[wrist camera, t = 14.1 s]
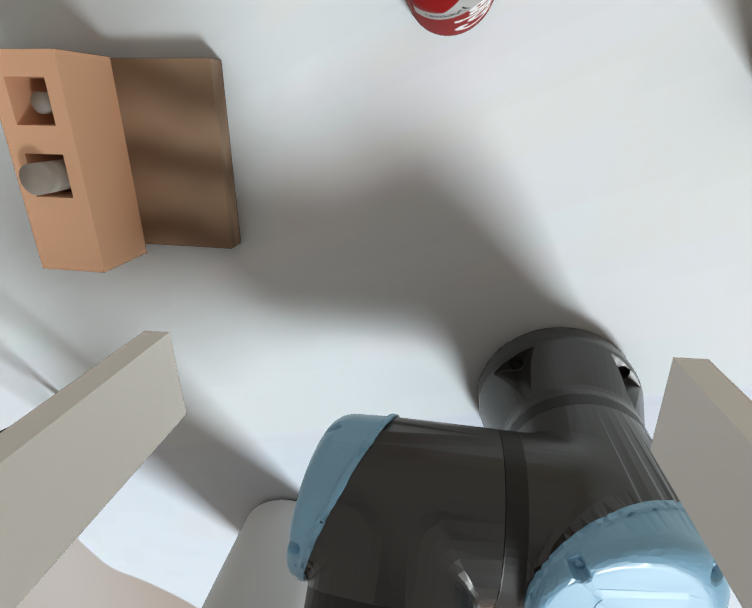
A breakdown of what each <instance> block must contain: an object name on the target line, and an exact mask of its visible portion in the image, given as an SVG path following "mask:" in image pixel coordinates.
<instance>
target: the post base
mask: <svg viewBox="0 0 752 608" xmlns="http://www.w3.org/2000/svg"><path fill="white" fill-rule="evenodd" d="M110 61H111V66H112V72H113V77H114V82H115V87H116V93H117V98H118V103H119V108H120V114H121V119H122V124H123V130H124V135H125V140H126V145H127V151H128V156H129V161H130V167H131V172H132V177H133V182H134V188H135V193H136V198H137V203H138V209H139V214H140V219H141V225H142V230H143V235H144V240H145V244H162V245H179V246H196V247H213V248H230V249H232V248H233V247H235V246H237V245H238V244H240V243H241V242H240V233H239V223H238V214H237V204H236V195H235V185H234V176H233V167H232V157H231V148H230V138H229V129H228V119H227V110H226V100H225V91H224V81H223V72H222V63H221V60H216V59H212V58H110ZM31 104H32V106H33V108H34V109H35V110H36V111H37V112H38V113H41V114H53V112H52V108H51V103H50V99H49V95H48V92H39V91H37V92H34V93H33V94H32V95H31ZM19 179H20V182H21V184H22V185H23V187H24V188H25V189H26V190H27V191H28V192H29V193H31V194H33V195H44V194H48V193H53V192H58V191H62V190H67V189H71V186H70V182H69V178H68V173H67V169H66V165H65V161H64V159H60V160H52V161H45V162H37V163H30V164H25V165H23V166H22V167H21V168H20V171H19Z"/></svg>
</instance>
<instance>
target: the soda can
mask: <svg viewBox="0 0 752 608" xmlns="http://www.w3.org/2000/svg"><path fill="white" fill-rule="evenodd" d="M406 1H407V3H408V6H409V8H410V10H411V12H412V14H413V16H414V17H415V19H416V20H417V21H418V23H419V24H420V25H421V26H422V27H424V28H425V29H426V30H428V31H430V32H432V33H434V34H437V35H442V36H454V35H458V34H462V33H464V32H466V31H468V30H470V29H471V28H473V27H474V26H476V25H477V24H478V23H479V22H480V21H481V20H482V19H483V18H484V16H485V15H486V14H487V12H488V11H489V9H490V7H491V5H492V3H493V1H494V0H406Z"/></svg>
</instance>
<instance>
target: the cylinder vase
mask: <svg viewBox="0 0 752 608" xmlns="http://www.w3.org/2000/svg"><path fill="white" fill-rule="evenodd" d="M295 505H296V501H292V500H272V501H268V502H265V503H262V504H260V505H259V506H257V507H256V508H254V509H253V510H252V511H251V512H250V514H249V515H248V517H247V519H246V521H245V523H244V525H243V527H242V529H241V531H240V533H239V535H238V537H237V539H236V541H235V543H234V545H233V547H232V549H231V551H230V553H229V555H228V557H227V559H226V560H225V562H224V564H223V566H222V568H221V570H220V572H219V574H218V576H217V578H216V580H215V582H214V584H213V586H212V588H211V590H210V592H209V594H208V596H207V598H206V600H205V602H204V604H203V606H202V608H304V604H305V598H306V592H307V586H308V581H299V580H298V579H297V577H296V576H294V575H292V574H291V573H290V571H289V568H288V566H287V549H288V545H289V541H290V537H289V530H290V525H291V520H292V516H293V512H294V508H295Z"/></svg>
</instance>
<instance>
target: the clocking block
mask: <svg viewBox="0 0 752 608" xmlns="http://www.w3.org/2000/svg"><path fill="white" fill-rule="evenodd" d="M37 91H39V92H48V95H49V99H50V103H51V108H52V112H53V114H41V113H38V112H37V111H36V110H35V109H34V108H33V106H32V104H31V95H32V94H33V93H34V92H37ZM0 119H1V123H2V126H3V130H4V133H5V137H6V140H7V144H8V147H9V151H10V154H11V158H12V161H13V165H14V168H15V172H16V175H17V179H18V182H19V186H20V189H21V193H22V196H23V200H24V203H25V207H26V210H27V214H28V217H29V221H30V224H31V228H32V231H33V235H34V238H35V242H36V245H37V249H38V252H39V256H40V259H41V263H42V266H43V268H48V269H62V270H77V271H91V272H107V271H109V270H111V269H113V268H115V267H117V266H120V265H122V264H124V263H126V262H128V261H130V260H132V259H134V258H136V257H139V256H141V255H143V254H145V253H147V251H146V246H145V240H144V235H143V230H142V225H141V219H140V214H139V209H138V203H137V198H136V193H135V188H134V182H133V177H132V172H131V167H130V161H129V156H128V151H127V145H126V140H125V135H124V130H123V124H122V119H121V114H120V108H119V103H118V98H117V93H116V87H115V82H114V77H113V72H112V66H111V61H110V57H106V56H99V55H92V54H85V53H79V52H72V51H65V50H58V49H0ZM60 159H64V161H65V165H66V169H67V173H68V178H69V182H70V186H71V189H67V190H62V191H58V192H53V193H48V194H44V195H33V194H31V193H29V192H28V191H27V190H26V189H25V188H24V187H23V185H22V184H21V182H20V179H19V171H20V168H21V167H22V166H23V165H25V164H30V163H37V162H45V161H52V160H60Z"/></svg>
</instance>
